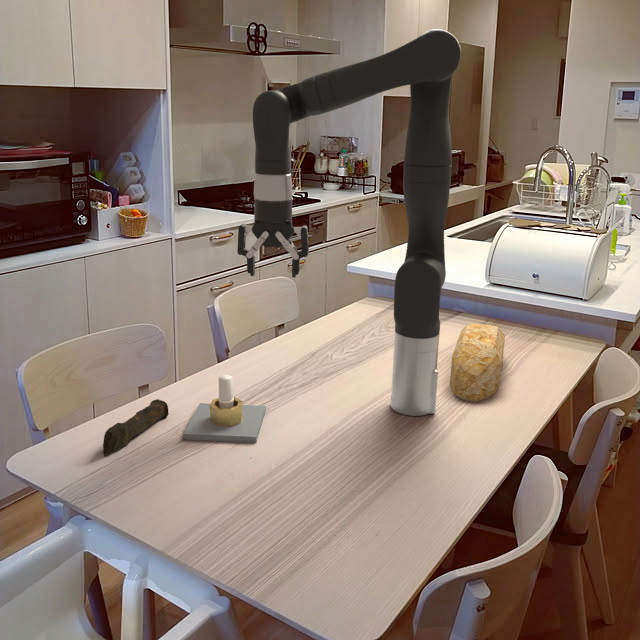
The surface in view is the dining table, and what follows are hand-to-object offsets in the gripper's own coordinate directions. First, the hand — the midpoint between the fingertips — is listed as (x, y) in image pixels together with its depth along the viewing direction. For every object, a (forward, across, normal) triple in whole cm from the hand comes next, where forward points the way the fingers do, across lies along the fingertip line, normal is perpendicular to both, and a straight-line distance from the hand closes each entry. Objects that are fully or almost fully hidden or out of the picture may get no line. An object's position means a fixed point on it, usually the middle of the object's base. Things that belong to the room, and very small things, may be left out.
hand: (273, 275), depth 145 cm
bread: (+29, -47, -22) cm, 60 cm away
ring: (+27, +8, +12) cm, 31 cm away
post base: (+28, +8, +12) cm, 32 cm away
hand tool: (+29, +24, +18) cm, 42 cm away
